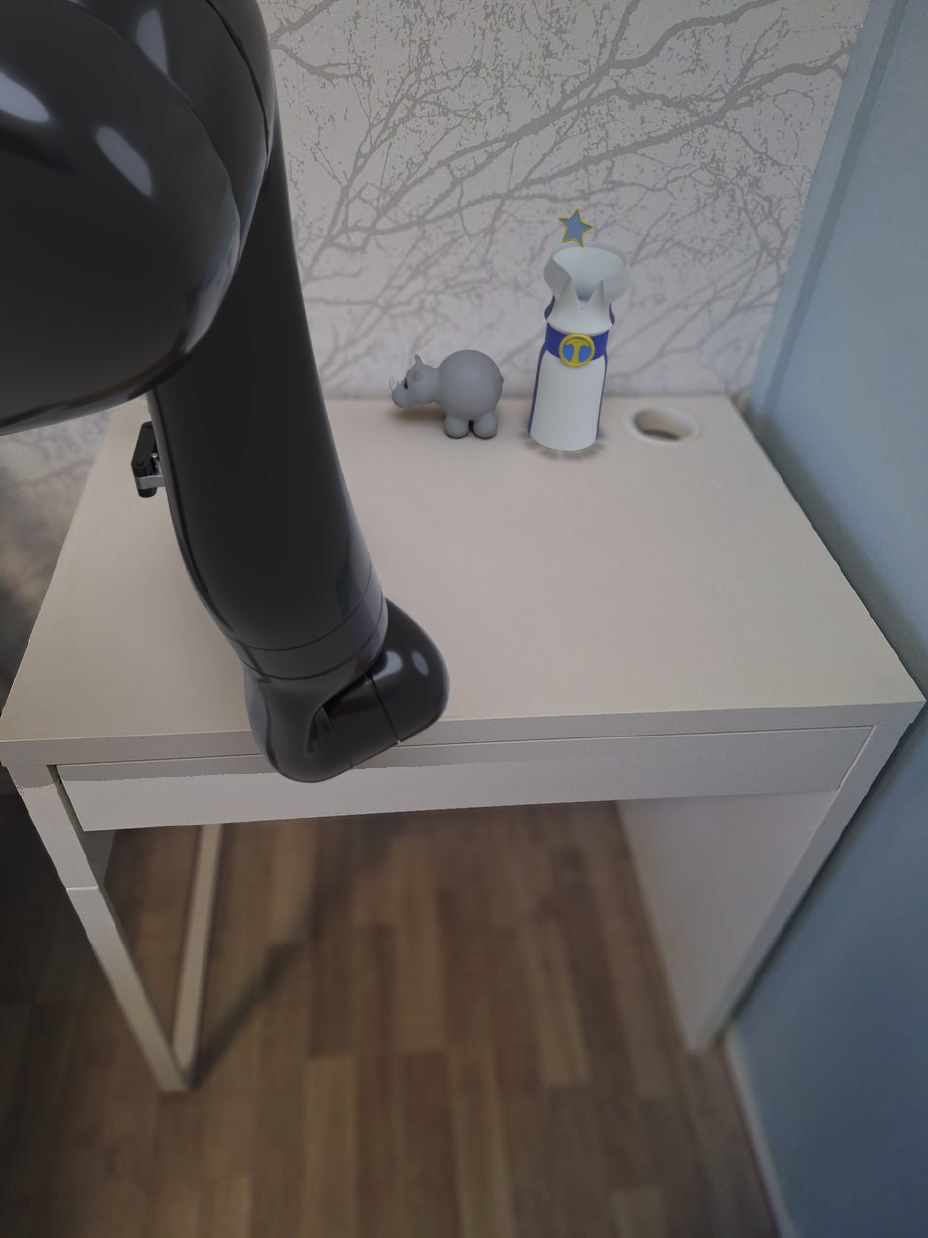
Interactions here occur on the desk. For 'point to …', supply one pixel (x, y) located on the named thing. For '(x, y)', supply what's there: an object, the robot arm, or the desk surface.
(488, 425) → the round bodied animal figurine
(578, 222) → the white piece
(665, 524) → the desk surface
